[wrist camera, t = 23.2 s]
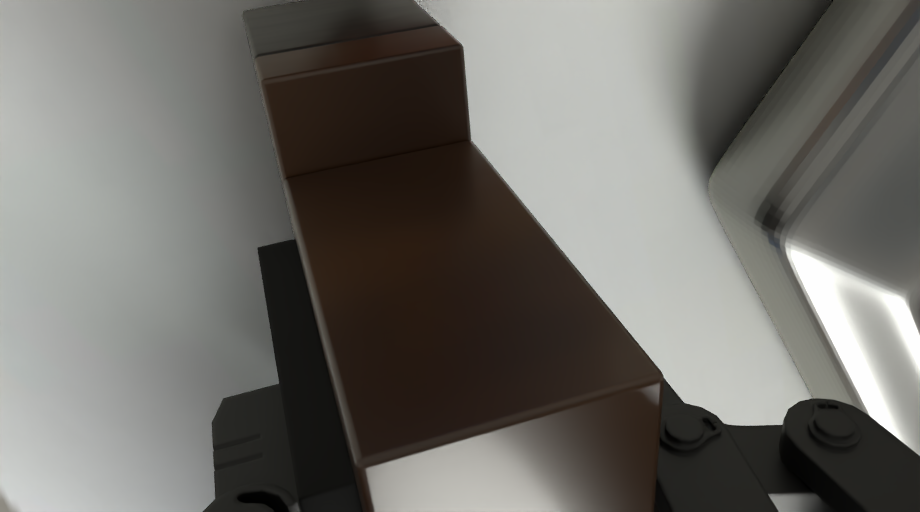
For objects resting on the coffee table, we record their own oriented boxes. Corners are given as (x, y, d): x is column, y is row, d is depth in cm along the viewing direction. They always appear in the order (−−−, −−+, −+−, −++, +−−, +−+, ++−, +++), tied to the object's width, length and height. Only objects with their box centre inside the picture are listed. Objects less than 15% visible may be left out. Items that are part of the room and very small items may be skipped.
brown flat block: (398, -16, 15) (679, 239, 6) (451, 405, 21) (632, 821, 12) (240, 9, 14) (323, 327, 6) (341, 435, 20) (453, 895, 12)
